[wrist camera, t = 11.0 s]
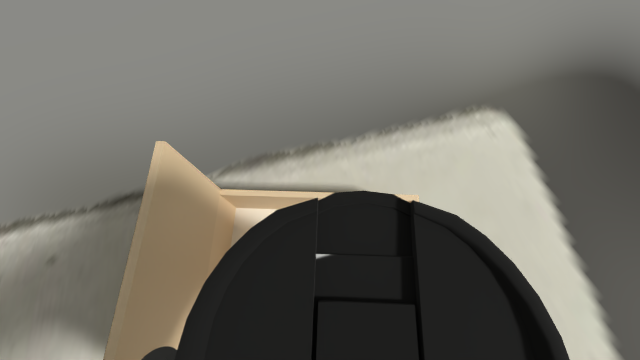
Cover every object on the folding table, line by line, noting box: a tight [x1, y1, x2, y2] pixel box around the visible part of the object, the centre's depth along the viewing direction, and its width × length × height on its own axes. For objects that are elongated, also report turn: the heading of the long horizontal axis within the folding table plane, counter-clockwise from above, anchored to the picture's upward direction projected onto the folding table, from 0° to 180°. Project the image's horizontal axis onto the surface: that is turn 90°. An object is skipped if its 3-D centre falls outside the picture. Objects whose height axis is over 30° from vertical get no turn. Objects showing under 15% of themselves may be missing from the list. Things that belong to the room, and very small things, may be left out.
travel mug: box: [174, 191, 570, 360], centre depth 13 cm, size 6×7×20 cm
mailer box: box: [103, 141, 419, 360], centre depth 20 cm, size 17×17×14 cm
